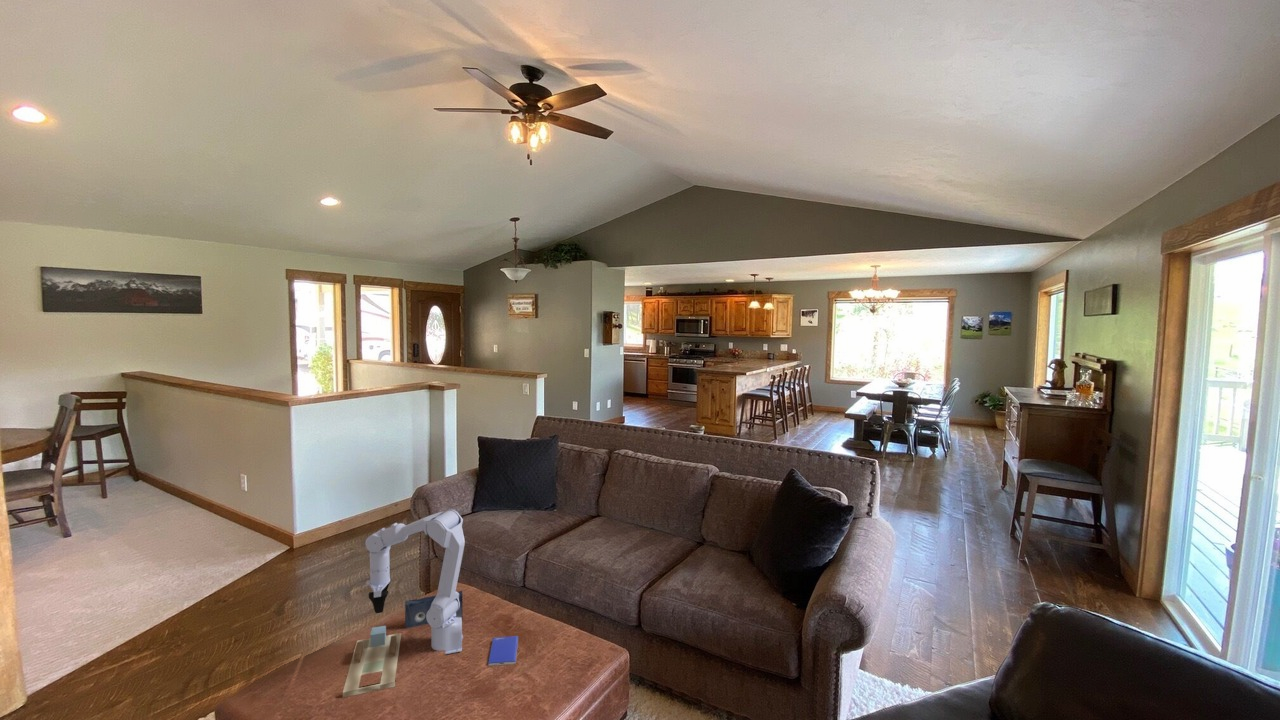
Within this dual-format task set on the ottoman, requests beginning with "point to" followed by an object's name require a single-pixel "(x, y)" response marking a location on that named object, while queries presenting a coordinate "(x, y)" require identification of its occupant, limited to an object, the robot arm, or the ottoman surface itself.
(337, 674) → the ottoman surface
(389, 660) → the cream flat tray
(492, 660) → the blue book
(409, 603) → the vhs cassette tape
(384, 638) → the blue block
